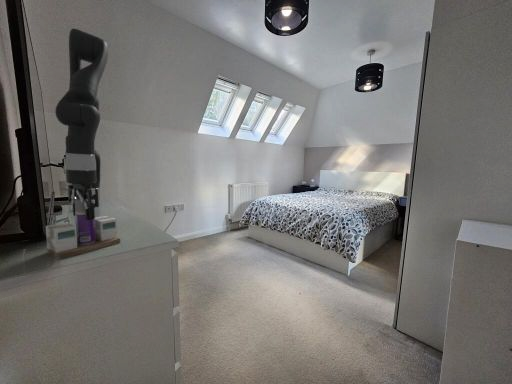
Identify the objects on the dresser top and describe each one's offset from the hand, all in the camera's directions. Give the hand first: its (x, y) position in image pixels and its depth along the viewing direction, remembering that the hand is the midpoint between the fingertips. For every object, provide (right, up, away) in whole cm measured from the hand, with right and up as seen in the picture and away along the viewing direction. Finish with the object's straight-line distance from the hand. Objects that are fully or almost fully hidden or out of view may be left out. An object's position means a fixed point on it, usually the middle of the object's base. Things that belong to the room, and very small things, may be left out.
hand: (83, 217), depth 71 cm
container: (0, -9, +1) cm, 9 cm away
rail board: (0, -10, +1) cm, 10 cm away
